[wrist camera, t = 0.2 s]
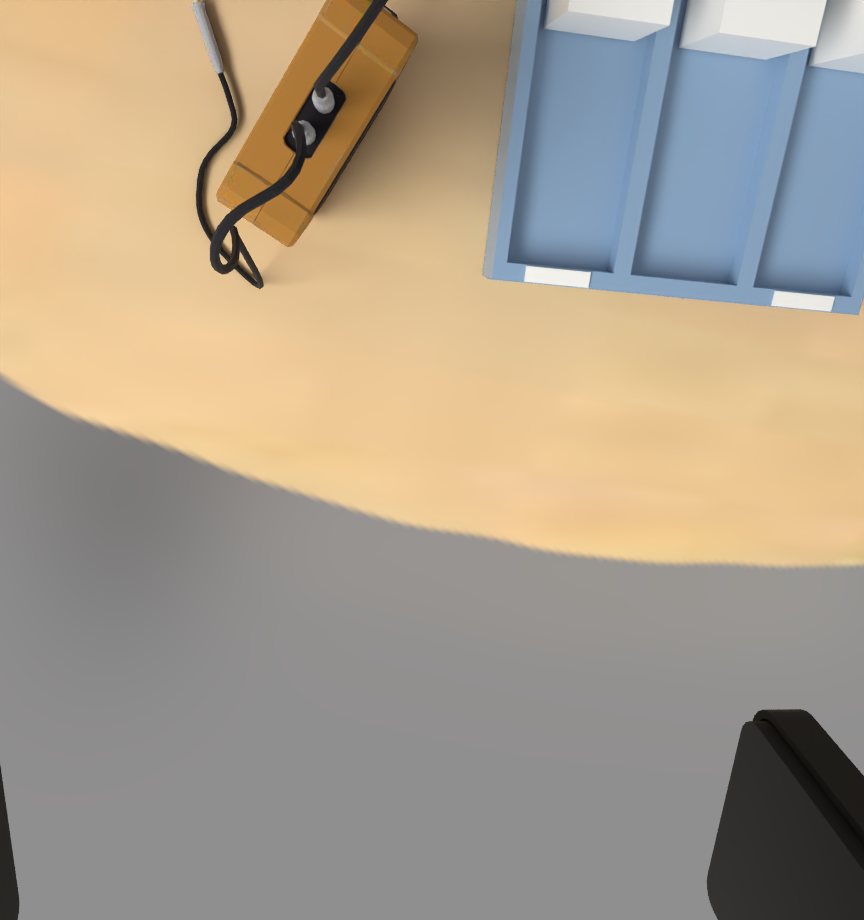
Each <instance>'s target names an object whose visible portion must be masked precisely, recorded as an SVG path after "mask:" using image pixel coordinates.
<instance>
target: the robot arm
mask: <svg viewBox="0 0 864 920" xmlns="http://www.w3.org/2000/svg"><path fill="white" fill-rule="evenodd" d="M707 889H708V896H709V900H710V903H711V906H712V908H713V911H714V913H715V915H716V916H717V919H718V920H864V776H863V775H862V774H861V773H860V771H859V770H858V769H857V768H856V766H855V765H854V764H853V763H852V762H851V761H850V759H849V758H848V757H847V756H846V755H845V754H844V753H843V751H842V750H841V749H840V748H839V747H838V745H837V744H836V743H835V742H834V741H833V740H832V738H831V737H830V736H829V735H828V734H827V733H826V731H825V730H824V729H823V728H822V727H821V726H820V724H819V723H818V722H817V721H816V720H815V719H814V718H813V716H812V715H811V714H809V713H808V712H807V711H804V710H801V709H798V710H797V709H795V710H761V711H758V712H757V713H756V715H755V716H754V718H753V721H749V722H746V723H745V724H744V725H743V727H742V730H741V734H740V739H739V742H738V747H737V751H736V755H735V760H734V764H733V768H732V773H731V777H730V781H729V785H728V790H727V794H726V799H725V802H724V807H723V811H722V815H721V820H720V824H719V828H718V833H717V837H716V841H715V845H714V850H713V854H712V858H711V863H710V867H709V871H708V876H707ZM18 914H19V894H18V887H17V880H16V874H15V866H14V859H13V852H12V845H11V838H10V831H9V824H8V817H7V810H6V803H5V796H4V788H3V781H2V774H1V767H0V920H17V919H18Z"/></svg>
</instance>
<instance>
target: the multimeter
mask: <svg viewBox="0 0 864 920" xmlns="http://www.w3.org/2000/svg"><path fill="white" fill-rule="evenodd" d="M387 1H388V0H327V1H326V2H325V4H324V6H323V8H322V9H321V11H320V13H319V15H318V17H317V19H316V20H315V22H314V24H313V25H312V27H311V29H310V31H309V32H308V34H307V36H306V38H305V39H304V41H303V43H302V45H301V46H300V48H299V50H298V52H297V53H296V55H295V57H294V59H293V60H292V62H291V64H290V66H289V67H288V69H287V71H286V72H285V74H284V76H283V78H282V79H281V81H280V83H279V85H278V86H277V88H276V90H275V92H274V93H273V95H272V97H271V99H270V100H269V102H268V104H267V106H266V107H265V109H264V111H263V113H262V114H261V116H260V118H259V119H258V121H257V123H256V125H255V126H254V128H253V130H252V132H251V133H250V135H249V137H248V139H247V140H246V142H245V144H244V146H243V147H242V149H241V151H240V153H239V154H238V156H237V158H236V160H235V161H234V163H233V164H232V166H231V168H230V169H229V171H228V173H227V175H226V177H225V178H224V180H223V182H222V184H221V186H220V188H219V190H218V192H217V194H216V196H217V199H218V201H219V202H220V203H222V204H223V205H225V206H226V207H228V208H229V209H231V210H232V211H231V212H230V213H229V214H227V215H226V216H225V218H224V219H223V220H222V222H221V223H220V224H219V225H218V227H217V229H216V231H215V233H214V235H213V234H212V233H211V231H210V230H209V228H208V225H207V223H206V221H205V218H204V215H203V209H202V184H203V177H204V172H205V169H206V167H207V164H208V162H209V161H210V160H211V158H212V157H213V155H214V154H215V153H216V152H217V151H218V150H219V149H220V148H221V147H222V146H223V145H224V144H225V143H226V142H227V141H228V140H229V139H230V137H231V136H232V135H233V133H234V131H235V129H236V126H237V114H236V109H235V106H234V103H233V99H232V96H231V93H230V90H229V87H228V84H227V81H226V79H225V76H224V74H223V73H224V68H223V63H222V58H221V55H220V52H219V49H218V46H217V43H216V40H215V37H214V34H213V31H212V28H211V25H210V22H209V19H208V15H207V12H206V9H205V2H199V0H194V2H195V3H194V4H192V5H191V8H192V9H193V10H194V13H195V16H196V19H197V22H198V25H199V28H200V31H201V34H202V37H203V40H204V43H205V46H206V49H207V52H208V55H209V58H210V61H211V63H212V65H213V67H214V70H215V72H216V73H217V74H218V76H219V78H220V81H221V83H222V86H223V89H224V92H225V95H226V98H227V102H228V105H229V108H230V111H231V117H232V122H231V126H230V128H229V131H228V132H227V133H226V134H225V136H224V137H223V138H222V139H221V140H220V141H219V142H218V143H217V144H216V145H215V146H214V147H213V148H212V149H211V150H210V151H209V152H208V154H207V155H206V157H205V158H204V159H203V161H202V164H201V166H200V169H199V173H198V179H197V190H196V206H197V212H198V216H199V220H200V223H201V225H202V227H203V229H204V231H205V233H206V235H207V236H208V238H209V239H210V241H211V245H210V261H211V265H212V267H213V268H214V270H215V271H217V272H219V273H221V274H227V273H229V272H231V271H232V270H233V269H236V270H237V271H238V272H239V273H240V274H241V275H242V276H243V277H244V278H245V279H246V280H247V281H249V282H250V283H251V284H252V285H253V286H255V287H257V288H259V289H261V288H262V287H263V280H262V277H261V275H260V273H259V271H258V269H257V267H256V265H255V263H254V262H253V260H252V258H251V256H250V254H249V252H248V251H247V249H246V247H245V245H244V243H243V241H242V240H241V238H240V236H239V234H238V230H237V227H235V226H233V225H234V224H235V223H236V222H237V221H239V220H240V219H241V218H242V217H243V218H245V219H246V220H248V221H249V222H251V223H252V224H254V225H255V226H257V227H258V228H260V229H261V230H263V231H264V232H266V233H267V234H269V235H270V236H272V237H273V238H275V239H276V240H278V241H279V242H281V243H282V244H284V245H285V246H287V247H290V246H293V245H294V244H295V242H296V241H297V240H298V238H299V237H300V236H301V234H302V233H303V231H304V230H305V229H306V227H307V226H308V224H309V223H310V222H311V220H312V219H313V217H314V215H315V214H316V212H317V211H318V210H319V208H320V207H321V206H322V204H323V203H324V202H325V200H326V198H327V197H328V195H329V193H330V192H331V190H332V189H333V187H334V185H335V184H336V182H337V180H338V179H339V177H340V175H341V174H342V172H343V171H344V169H345V167H346V166H347V164H348V162H349V161H350V159H351V157H352V156H353V154H354V153H355V151H356V149H357V148H358V146H359V144H360V143H361V141H362V140H363V138H364V136H365V135H366V133H367V131H368V130H369V128H370V126H371V125H372V123H373V122H374V120H375V118H376V117H377V115H378V113H379V112H380V110H381V108H382V107H383V105H384V103H385V101H386V100H387V98H388V96H389V94H390V92H391V90H392V88H393V87H394V85H395V83H396V81H397V79H398V77H399V75H400V73H401V72H402V70H403V68H404V66H405V64H406V62H407V60H408V59H409V57H410V55H411V53H412V51H413V49H414V47H415V46H416V44H417V42H418V37H417V34H416V33H415V32H413V31H412V30H411V29H410V28H408V27H407V26H406V25H405V24H403V23H402V22H401V21H399V20H398V17H397V15H396V14H395V13H394V12H393V11H391V10H390V9H389V8H388V7H386V6H385V4H386V3H387ZM229 230H230V233H231V236H232V254H231V257H230V256H229V255H228V254H227V253H226V252H225V251H224V249H223V248H222V247H221V245H222V242H223V240H224V238H225V236H226V235H227V233H228V232H229ZM240 252H241V253H242V255H243V257H244V259H245V260H246V262H247V264H248V266H249V267H250V269H251V271H252V272H253V274H254V276H255V278H256V280H257V282H256V281H255V280H254V279H253V278H252V277H250V276H249V275H248V274H247V273H246V272H245V271H244V270H243V269H242V268H241V267H240V266H239V265H238V260H239V253H240ZM219 253H220V254H221V255H222V256H223V257H224V258H225V259H226V260H227V261H228V263H227V264H226V265H223V264H222V263H221V261H220V257H219Z"/></svg>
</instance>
